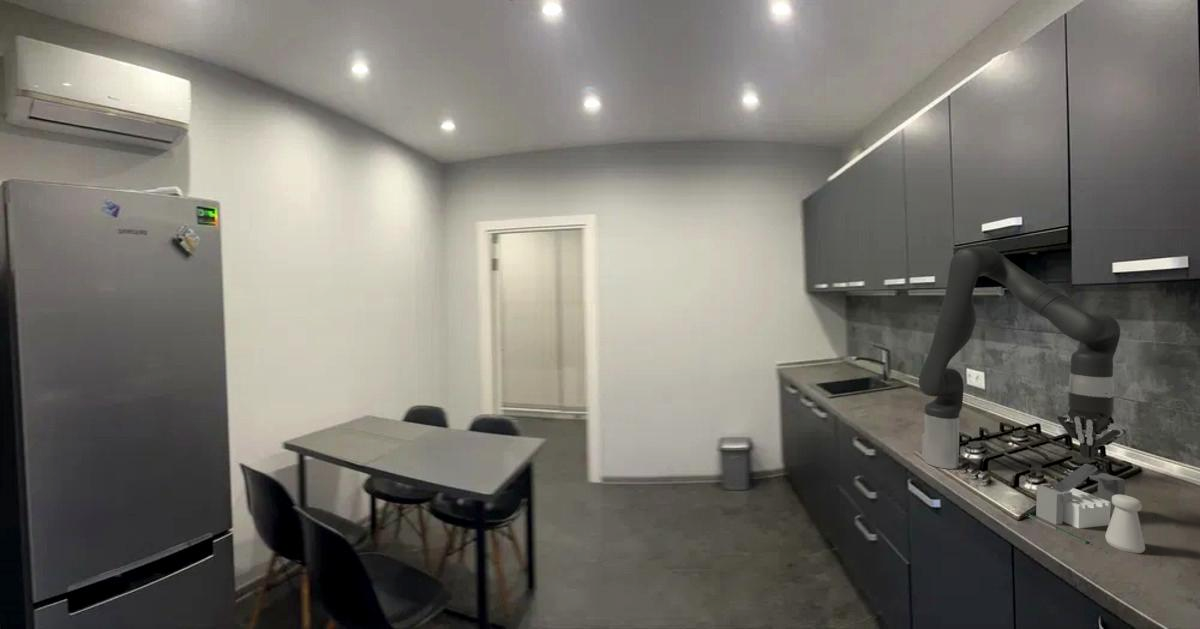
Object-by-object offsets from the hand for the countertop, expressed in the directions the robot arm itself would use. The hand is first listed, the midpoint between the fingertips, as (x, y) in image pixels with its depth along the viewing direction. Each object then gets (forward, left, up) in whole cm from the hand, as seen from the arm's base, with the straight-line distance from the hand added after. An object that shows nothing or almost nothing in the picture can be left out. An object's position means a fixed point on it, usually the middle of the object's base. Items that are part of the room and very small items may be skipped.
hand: (1088, 458), depth 108 cm
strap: (0, -4, -6) cm, 7 cm away
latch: (0, +6, -15) cm, 16 cm away
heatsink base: (0, -2, -17) cm, 17 cm away
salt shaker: (+12, -7, -17) cm, 22 cm away
